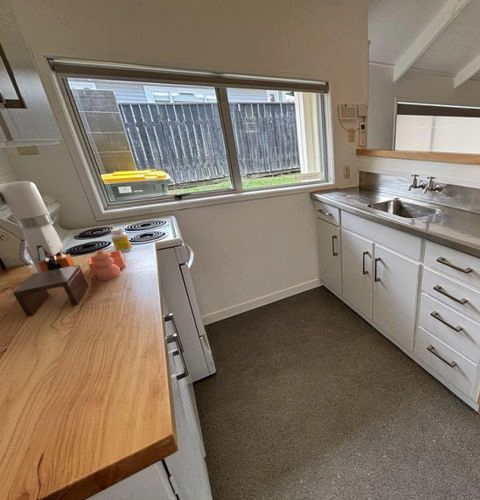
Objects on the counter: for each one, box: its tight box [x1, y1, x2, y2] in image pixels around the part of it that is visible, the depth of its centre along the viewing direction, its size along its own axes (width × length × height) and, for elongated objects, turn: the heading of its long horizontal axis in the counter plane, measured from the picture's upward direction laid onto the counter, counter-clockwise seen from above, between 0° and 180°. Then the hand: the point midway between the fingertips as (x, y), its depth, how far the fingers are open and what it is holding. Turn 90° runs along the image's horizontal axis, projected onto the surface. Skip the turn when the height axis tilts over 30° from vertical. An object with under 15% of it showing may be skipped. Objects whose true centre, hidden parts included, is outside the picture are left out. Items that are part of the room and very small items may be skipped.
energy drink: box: [24, 243, 50, 273], centre depth 102 cm, size 5×5×12 cm
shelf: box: [12, 264, 90, 318], centre depth 85 cm, size 11×13×8 cm
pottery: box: [88, 249, 126, 281], centre depth 102 cm, size 18×10×10 cm, turn 39°
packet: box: [38, 253, 76, 272], centre depth 96 cm, size 7×4×9 cm, turn 120°
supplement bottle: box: [110, 227, 133, 253], centre depth 121 cm, size 5×5×10 cm
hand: (61, 272), depth 96 cm, fingers closed on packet, 4 cm apart
